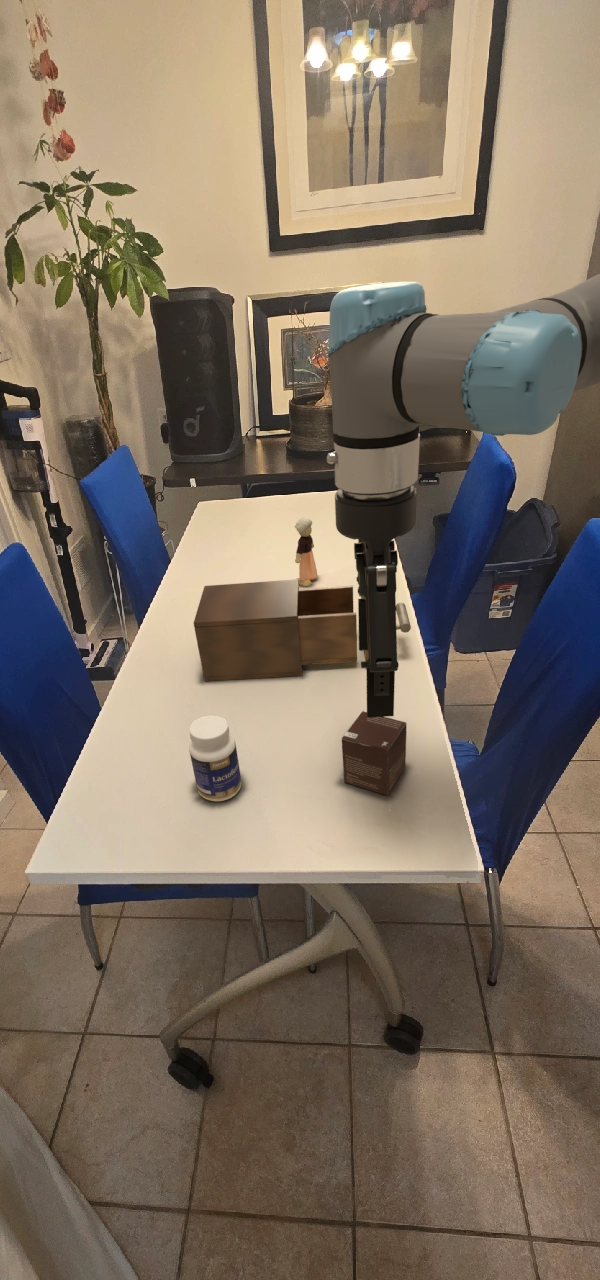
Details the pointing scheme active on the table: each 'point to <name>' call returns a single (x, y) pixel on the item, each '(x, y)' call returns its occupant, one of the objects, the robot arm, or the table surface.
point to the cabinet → (249, 630)
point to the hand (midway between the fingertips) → (374, 679)
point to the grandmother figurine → (305, 553)
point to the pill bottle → (214, 758)
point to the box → (374, 752)
